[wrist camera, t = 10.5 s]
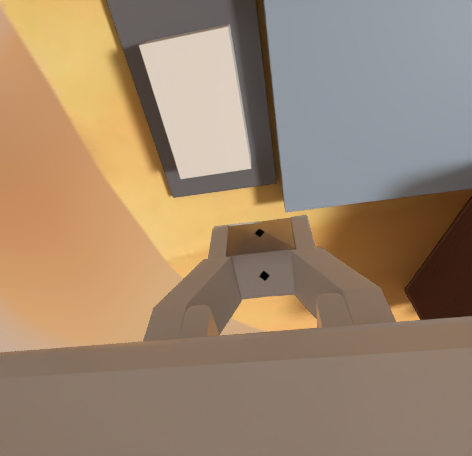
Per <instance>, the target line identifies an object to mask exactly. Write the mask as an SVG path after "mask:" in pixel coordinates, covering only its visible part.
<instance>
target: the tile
mask: <svg viewBox="0 0 472 456" xmlns="http://www.w3.org/2000/svg"><path fill="white" fill-rule="evenodd" d="M139 48H140V51H141V54H142V57H143V60H144V64H145V67H146V70H147V73H148V76H149V80H150V83H151V86H152V89H153V92H154V95H155V99H156V102H157V105H158V108H159V111H160V115H161V118H162V121H163V124H164V127H165V131H166V134H167V137H168V140H169V143H170V147H171V150H172V153H173V156H174V159H175V162H176V166H177V169H178V172H179V175H180V178H181V179H186V178H193V177H199V176H206V175H213V174H219V173H226V172H233V171H239V170H246V169H251V153H250V147H249V141H248V134H247V128H246V122H245V116H244V110H243V103H242V97H241V91H240V85H239V78H238V72H237V66H236V60H235V54H234V47H233V41H232V35H231V29H230V24H226V25H221V26H216V27H212V28H207V29H202V30H198V31H193V32H188V33H183V34H179V35H174V36H169V37H164V38H160V39H155V40H150V41H147V42H145V43H143V44H141V45H139Z"/></svg>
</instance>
